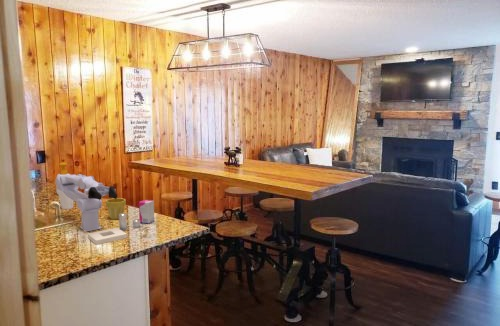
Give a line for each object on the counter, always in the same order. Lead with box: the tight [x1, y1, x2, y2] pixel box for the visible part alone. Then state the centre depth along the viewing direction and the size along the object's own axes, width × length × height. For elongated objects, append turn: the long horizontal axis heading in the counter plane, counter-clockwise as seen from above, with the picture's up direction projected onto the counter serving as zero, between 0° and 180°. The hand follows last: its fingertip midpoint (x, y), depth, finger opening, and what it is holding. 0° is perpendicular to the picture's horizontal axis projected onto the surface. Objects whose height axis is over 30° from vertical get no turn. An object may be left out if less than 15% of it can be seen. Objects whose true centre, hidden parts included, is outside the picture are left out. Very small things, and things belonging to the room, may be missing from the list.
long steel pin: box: [118, 212, 128, 232], centre depth 190 cm, size 4×4×8 cm
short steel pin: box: [132, 218, 141, 229], centre depth 194 cm, size 4×4×4 cm
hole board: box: [87, 227, 128, 245], centre depth 178 cm, size 12×14×2 cm
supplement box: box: [138, 199, 155, 225], centre depth 202 cm, size 6×6×12 cm
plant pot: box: [105, 197, 126, 220], centre depth 210 cm, size 10×10×10 cm
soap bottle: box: [55, 161, 71, 195], centre depth 266 cm, size 10×14×22 cm
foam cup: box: [56, 187, 75, 210], centre depth 229 cm, size 10×9×13 cm
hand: (108, 197), depth 175 cm, fingers open, 7 cm apart
